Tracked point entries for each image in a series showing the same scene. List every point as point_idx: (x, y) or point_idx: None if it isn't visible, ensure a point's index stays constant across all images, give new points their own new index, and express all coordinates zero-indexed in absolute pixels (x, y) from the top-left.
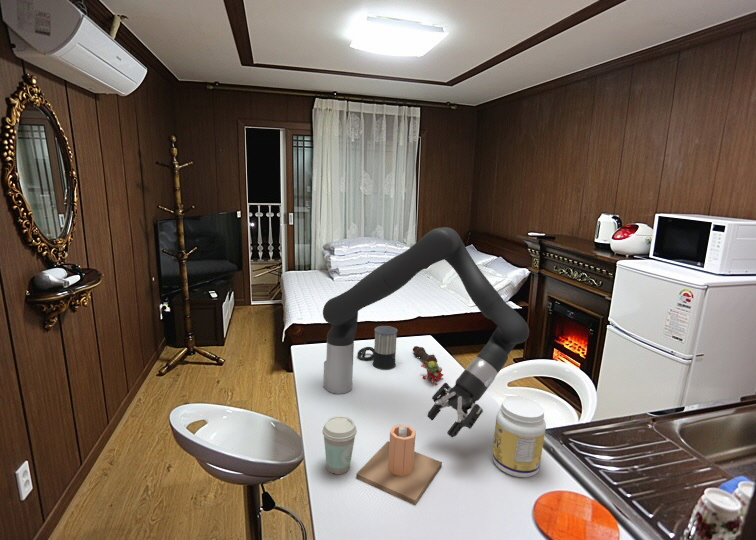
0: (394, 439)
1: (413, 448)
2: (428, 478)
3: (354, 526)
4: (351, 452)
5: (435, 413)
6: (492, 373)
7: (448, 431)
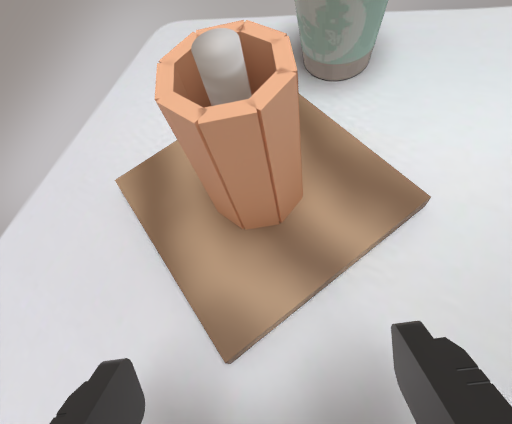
0: None
1: (192, 158)
2: (168, 255)
3: (144, 66)
4: (311, 24)
5: (427, 420)
6: None
7: (112, 365)
